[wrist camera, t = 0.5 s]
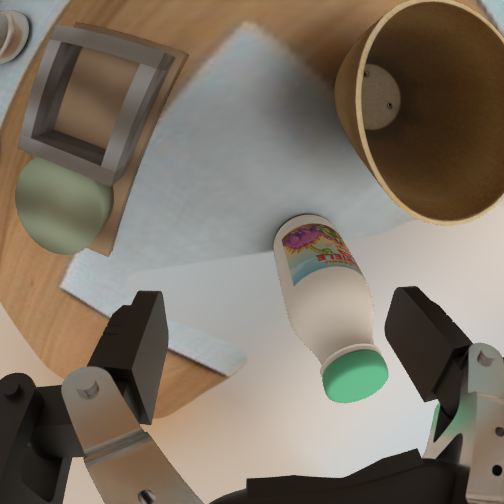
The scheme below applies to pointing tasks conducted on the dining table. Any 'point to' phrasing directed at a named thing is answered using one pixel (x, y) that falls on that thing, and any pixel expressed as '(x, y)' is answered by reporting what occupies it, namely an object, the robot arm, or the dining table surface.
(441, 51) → the plant pot
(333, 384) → the milk bottle
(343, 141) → the dining table surface
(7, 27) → the plastic bottle
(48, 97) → the stand
